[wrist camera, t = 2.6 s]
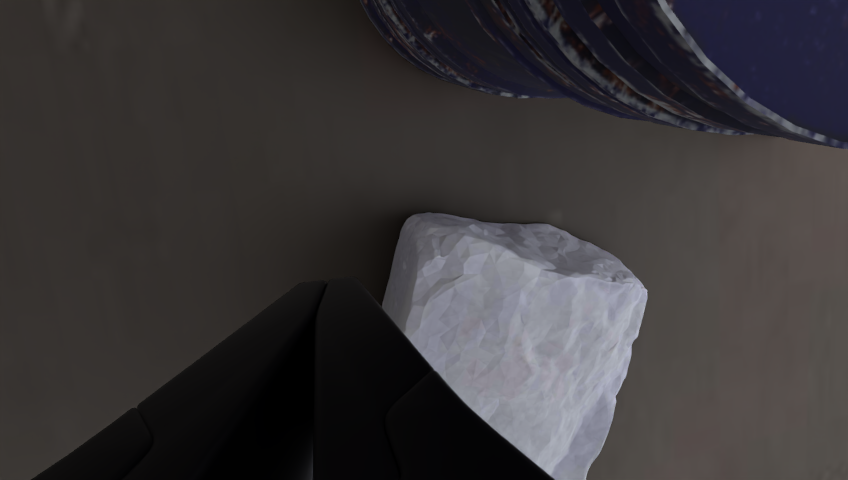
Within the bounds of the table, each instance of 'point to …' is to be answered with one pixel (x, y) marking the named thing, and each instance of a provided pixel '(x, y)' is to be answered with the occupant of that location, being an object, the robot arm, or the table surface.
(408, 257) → the stone block
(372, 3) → the blue barrel
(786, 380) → the table surface
